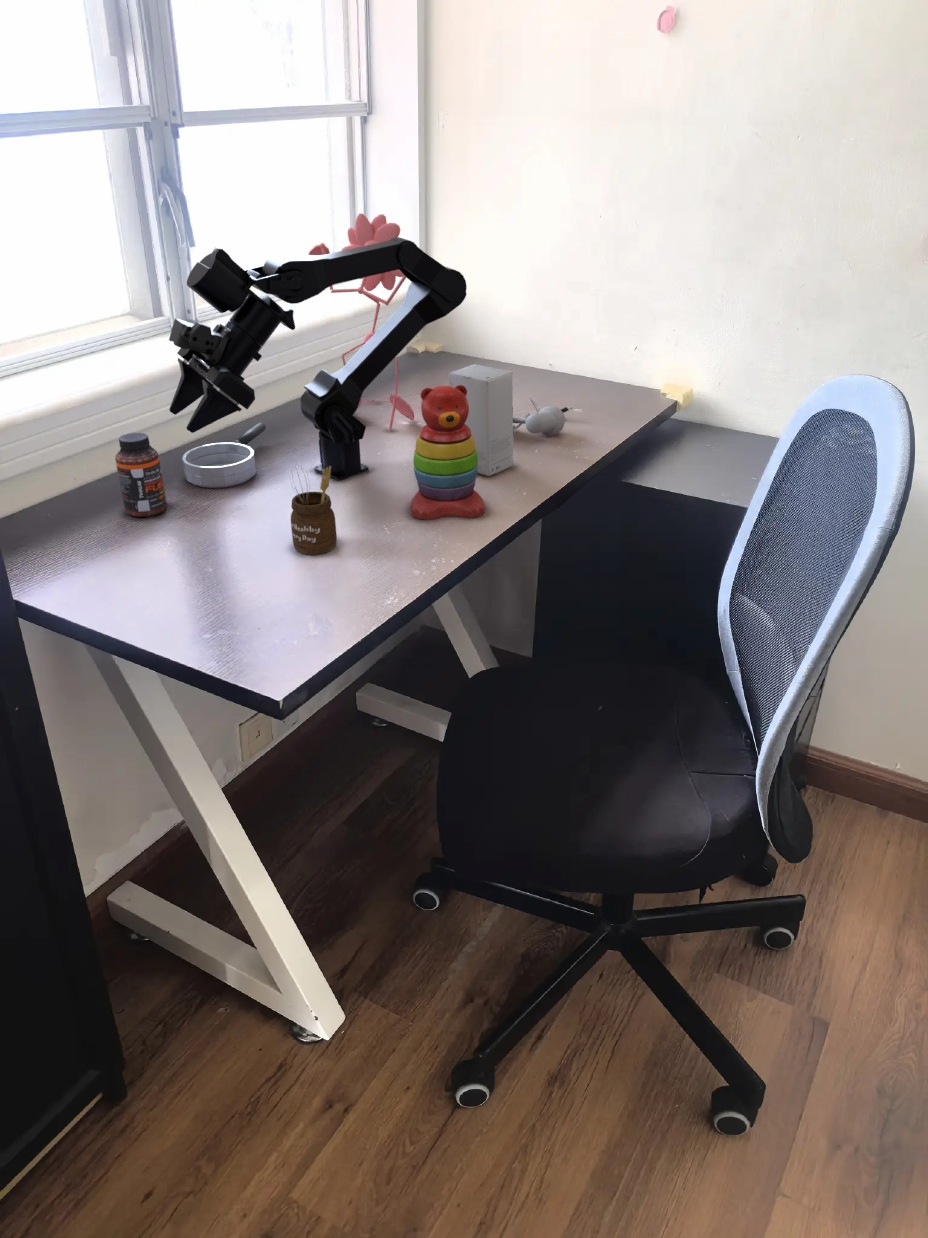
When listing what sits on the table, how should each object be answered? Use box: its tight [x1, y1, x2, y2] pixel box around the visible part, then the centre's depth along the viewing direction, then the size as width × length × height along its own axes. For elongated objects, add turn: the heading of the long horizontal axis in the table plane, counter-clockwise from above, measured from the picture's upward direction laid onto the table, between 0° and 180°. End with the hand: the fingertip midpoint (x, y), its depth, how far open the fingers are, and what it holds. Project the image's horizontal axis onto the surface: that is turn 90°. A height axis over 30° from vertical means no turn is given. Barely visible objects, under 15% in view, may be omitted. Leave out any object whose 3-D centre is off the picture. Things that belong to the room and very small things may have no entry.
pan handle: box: [229, 422, 267, 451], centre depth 155 cm, size 11×2×2 cm, turn 166°
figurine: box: [307, 213, 421, 436], centre depth 163 cm, size 15×26×35 cm, turn 66°
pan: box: [181, 442, 257, 489], centre depth 146 cm, size 11×11×4 cm
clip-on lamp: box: [513, 395, 573, 437], centre depth 164 cm, size 12×6×18 cm
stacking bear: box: [410, 385, 486, 520], centre depth 132 cm, size 11×10×18 cm
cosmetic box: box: [448, 363, 514, 477], centre depth 146 cm, size 8×7×16 cm
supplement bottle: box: [114, 432, 168, 518], centre depth 133 cm, size 6×6×11 cm
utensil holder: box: [289, 465, 338, 556], centre depth 122 cm, size 6×6×12 cm
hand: (180, 421), depth 132 cm, fingers open, 9 cm apart
